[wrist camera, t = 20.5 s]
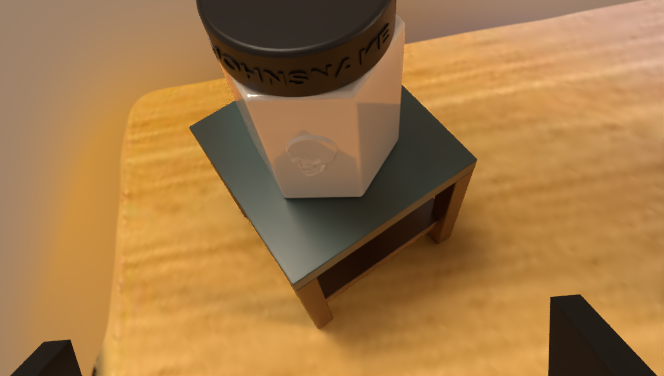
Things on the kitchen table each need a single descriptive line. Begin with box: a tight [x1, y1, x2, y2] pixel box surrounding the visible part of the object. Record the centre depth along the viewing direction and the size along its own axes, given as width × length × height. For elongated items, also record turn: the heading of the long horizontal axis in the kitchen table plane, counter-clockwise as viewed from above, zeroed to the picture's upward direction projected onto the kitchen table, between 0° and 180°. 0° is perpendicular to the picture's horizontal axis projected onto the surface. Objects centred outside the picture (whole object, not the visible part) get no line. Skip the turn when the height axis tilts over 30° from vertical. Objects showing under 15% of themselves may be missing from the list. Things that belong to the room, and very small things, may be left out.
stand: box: [189, 85, 477, 329], centre depth 35 cm, size 13×13×12 cm
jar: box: [196, 0, 405, 198], centre depth 24 cm, size 9×8×12 cm
